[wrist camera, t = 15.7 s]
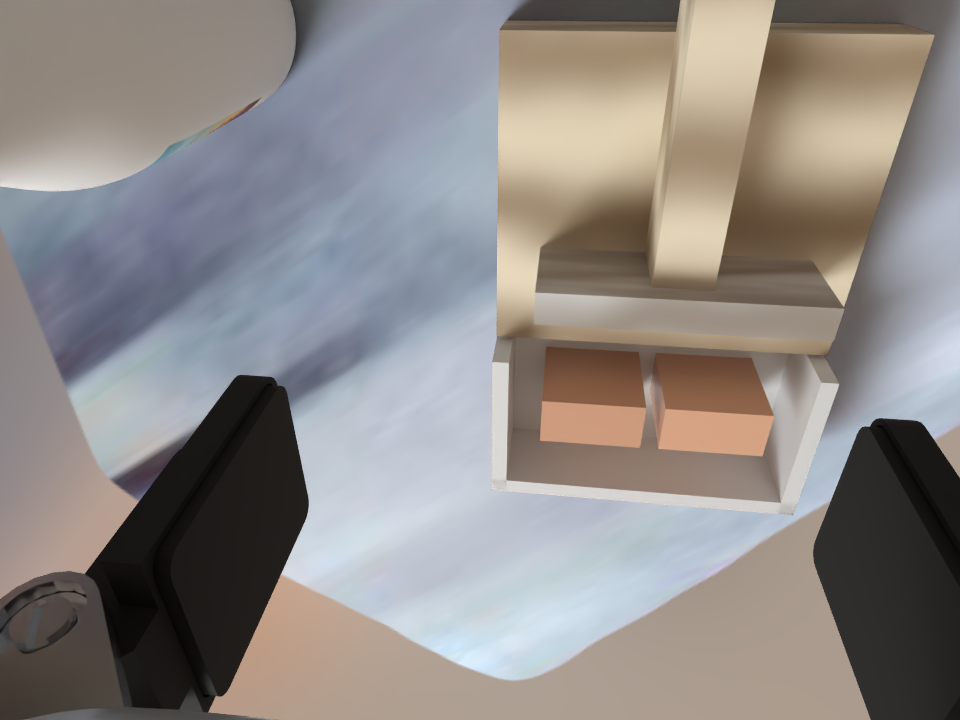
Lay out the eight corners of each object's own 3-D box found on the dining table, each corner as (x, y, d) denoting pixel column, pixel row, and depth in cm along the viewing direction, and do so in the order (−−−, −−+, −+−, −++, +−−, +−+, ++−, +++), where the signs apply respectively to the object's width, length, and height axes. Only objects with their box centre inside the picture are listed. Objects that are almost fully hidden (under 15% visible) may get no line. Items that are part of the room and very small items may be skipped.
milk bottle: (150, -125, 27) (-506, -189, 11) (324, -25, 29) (-26, 55, 12) (120, 56, 32) (-389, 209, 15) (273, 136, 33) (-40, 361, 16)
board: (506, 20, 29) (499, 30, 26) (902, 23, 27) (934, 34, 24) (502, 307, 36) (496, 336, 34) (809, 324, 35) (827, 355, 32)
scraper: (553, -27, 25) (548, -18, 21) (895, -27, 24) (953, -16, 20) (538, 276, 32) (533, 324, 28) (802, 289, 31) (833, 341, 27)
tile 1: (665, 409, 32) (658, 448, 33) (774, 416, 31) (762, 456, 33) (655, 352, 36) (649, 390, 38) (751, 358, 36) (741, 396, 37)
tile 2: (541, 401, 33) (539, 440, 34) (646, 407, 32) (640, 447, 34) (546, 346, 37) (544, 383, 38) (638, 352, 36) (633, 389, 38)
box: (502, 311, 36) (492, 362, 32) (808, 328, 35) (839, 383, 31) (500, 432, 41) (491, 489, 37) (770, 452, 39) (793, 514, 35)
